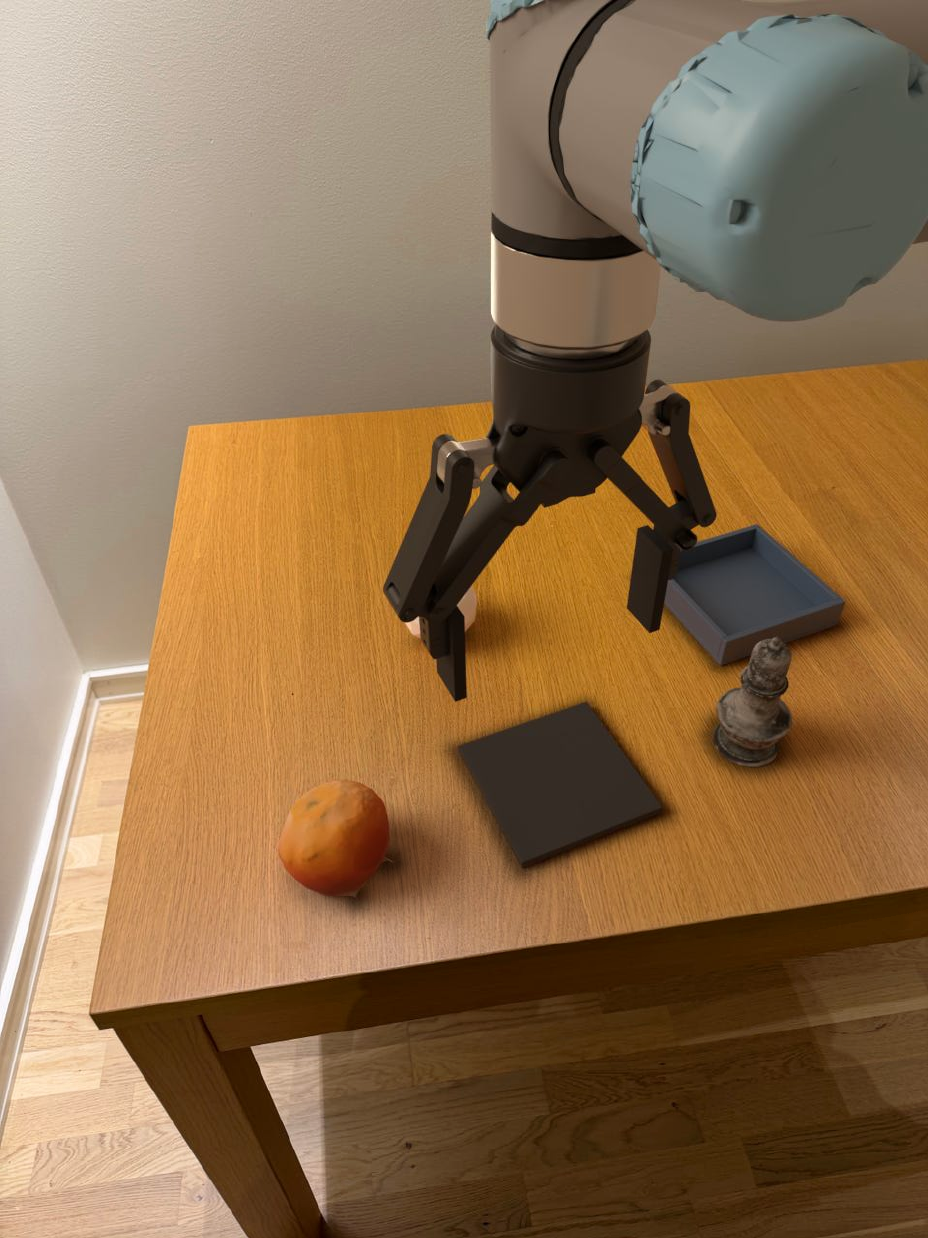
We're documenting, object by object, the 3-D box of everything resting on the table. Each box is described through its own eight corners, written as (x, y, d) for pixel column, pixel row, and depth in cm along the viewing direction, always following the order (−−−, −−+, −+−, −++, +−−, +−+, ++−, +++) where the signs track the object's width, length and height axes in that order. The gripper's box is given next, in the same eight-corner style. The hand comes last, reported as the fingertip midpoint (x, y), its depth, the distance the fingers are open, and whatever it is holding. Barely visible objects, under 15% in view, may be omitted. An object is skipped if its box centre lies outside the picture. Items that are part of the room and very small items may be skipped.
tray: (837, 625, 84) (846, 601, 82) (720, 666, 80) (726, 642, 78) (751, 546, 93) (757, 523, 91) (642, 580, 89) (646, 557, 87)
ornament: (484, 607, 86) (501, 588, 78) (436, 665, 84) (449, 651, 77) (428, 561, 86) (440, 537, 78) (379, 618, 84) (387, 599, 76)
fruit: (374, 932, 60) (311, 849, 57) (302, 917, 65) (241, 841, 62) (435, 842, 65) (381, 761, 62) (364, 836, 70) (311, 761, 67)
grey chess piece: (700, 718, 75) (725, 613, 67) (767, 711, 76) (800, 607, 68) (722, 773, 71) (752, 668, 63) (793, 766, 72) (832, 661, 63)
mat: (661, 813, 68) (663, 807, 68) (521, 869, 65) (522, 863, 65) (586, 707, 77) (586, 701, 76) (458, 751, 73) (457, 745, 73)
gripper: (738, 252, 48) (681, 562, 62) (289, 346, 40) (342, 674, 54) (837, 302, 43) (750, 628, 57) (343, 421, 35) (386, 761, 49)
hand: (550, 651), depth 56 cm, fingers open, 13 cm apart
